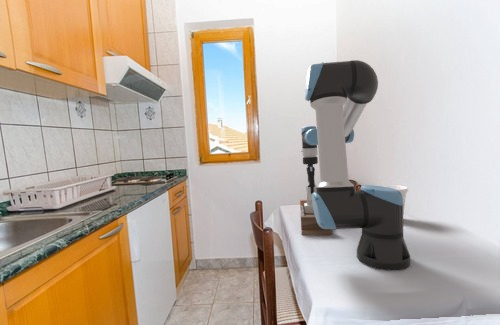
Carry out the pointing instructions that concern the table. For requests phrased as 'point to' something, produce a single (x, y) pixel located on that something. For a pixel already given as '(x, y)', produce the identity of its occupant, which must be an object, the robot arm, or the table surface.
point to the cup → (401, 189)
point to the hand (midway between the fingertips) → (311, 197)
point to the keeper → (308, 202)
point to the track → (310, 223)
